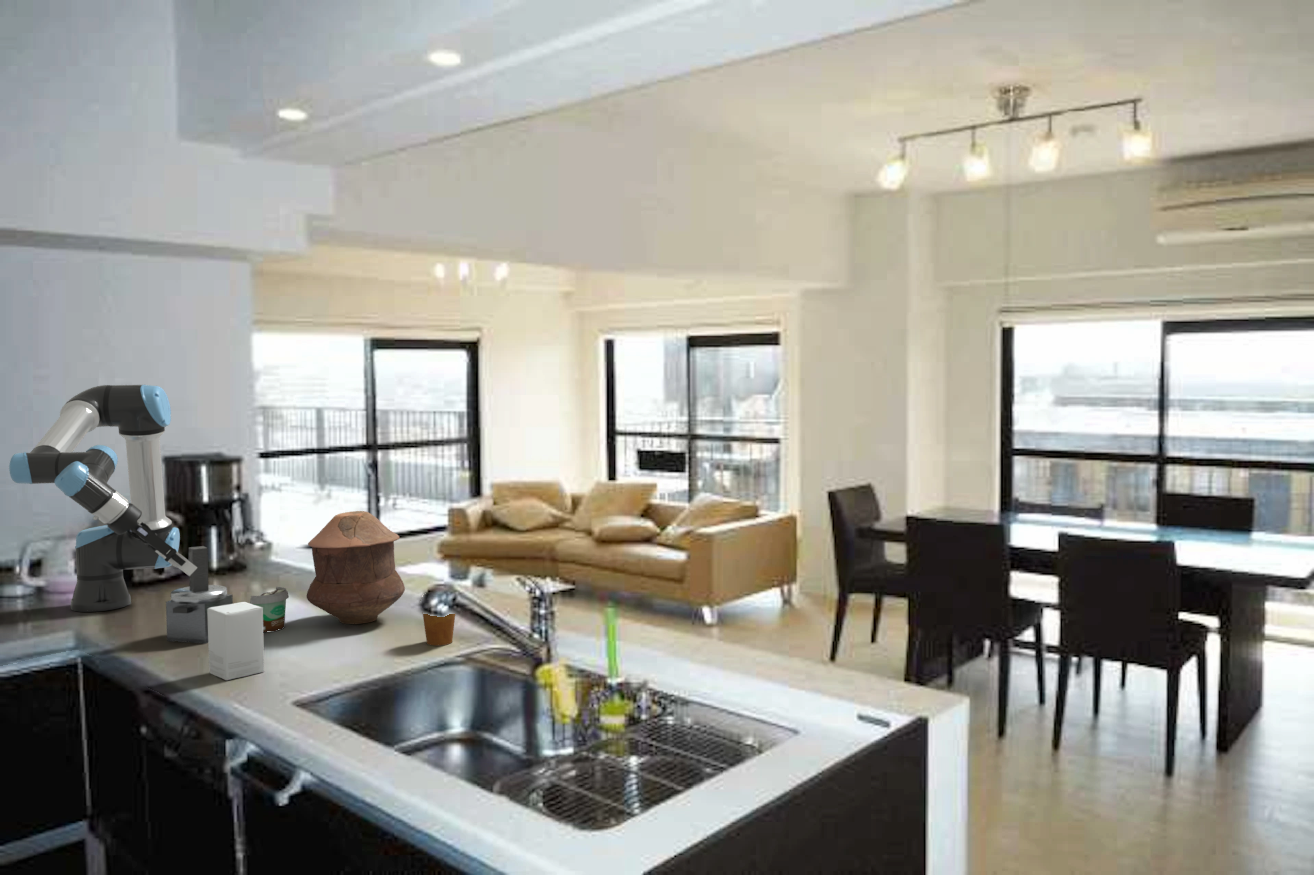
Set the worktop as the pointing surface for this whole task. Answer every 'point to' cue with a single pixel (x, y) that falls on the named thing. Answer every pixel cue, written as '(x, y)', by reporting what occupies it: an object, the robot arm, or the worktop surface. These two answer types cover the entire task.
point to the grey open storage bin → (190, 620)
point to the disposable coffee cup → (439, 629)
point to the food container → (272, 608)
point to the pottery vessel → (354, 568)
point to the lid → (199, 582)
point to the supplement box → (235, 640)
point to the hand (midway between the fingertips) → (186, 567)
